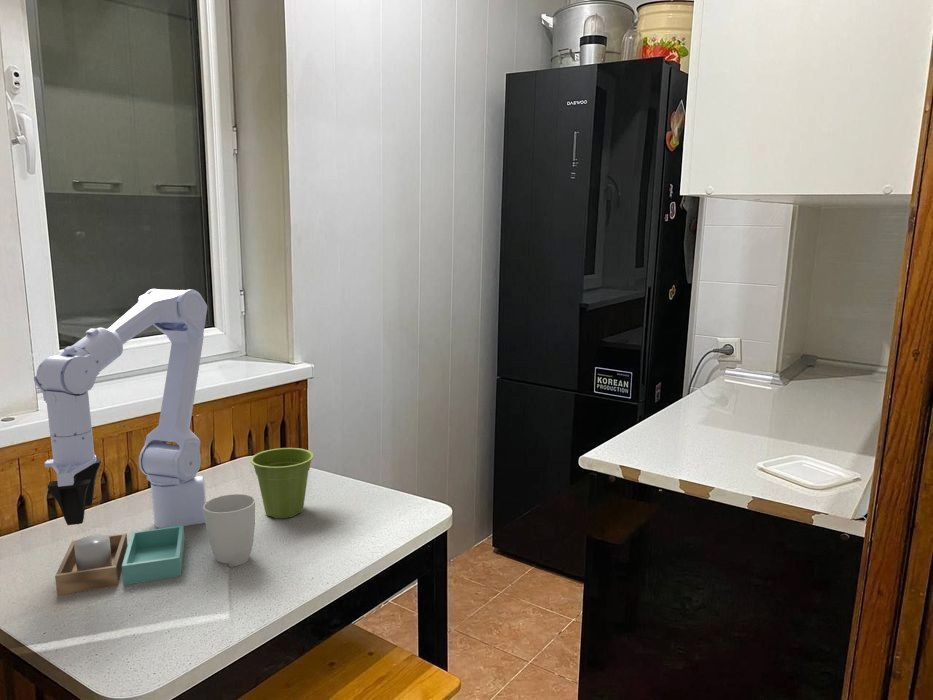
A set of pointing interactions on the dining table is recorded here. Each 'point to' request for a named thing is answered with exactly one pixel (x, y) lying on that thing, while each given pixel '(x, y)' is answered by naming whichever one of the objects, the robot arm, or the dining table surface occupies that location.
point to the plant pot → (282, 479)
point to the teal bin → (154, 555)
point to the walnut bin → (91, 578)
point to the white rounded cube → (93, 552)
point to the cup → (231, 527)
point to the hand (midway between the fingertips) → (80, 514)
